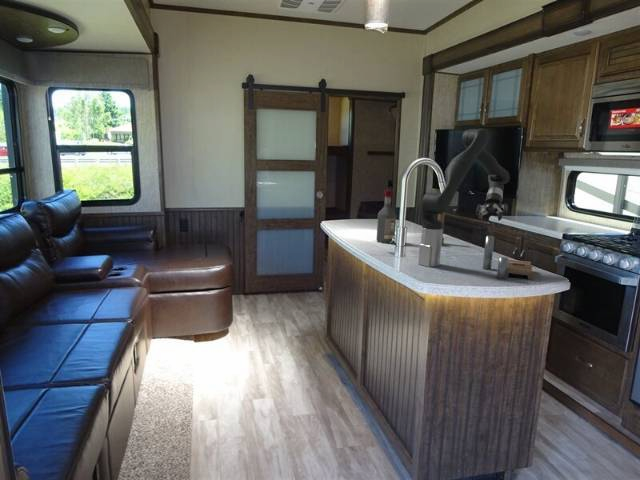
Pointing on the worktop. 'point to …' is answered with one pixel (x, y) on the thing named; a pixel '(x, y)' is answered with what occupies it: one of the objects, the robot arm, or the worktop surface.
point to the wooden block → (441, 218)
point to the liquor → (386, 221)
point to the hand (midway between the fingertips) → (489, 219)
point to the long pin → (488, 252)
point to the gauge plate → (519, 268)
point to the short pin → (502, 268)
